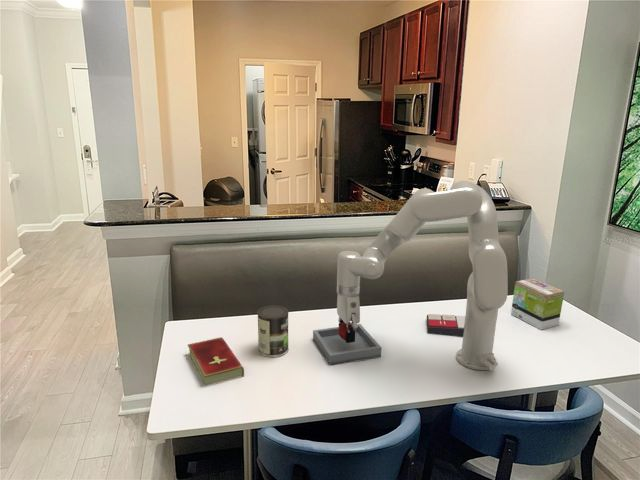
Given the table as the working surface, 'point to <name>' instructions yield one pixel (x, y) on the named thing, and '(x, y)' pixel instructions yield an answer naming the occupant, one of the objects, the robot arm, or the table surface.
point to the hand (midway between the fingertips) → (346, 337)
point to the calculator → (445, 324)
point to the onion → (343, 330)
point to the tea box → (537, 303)
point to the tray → (346, 346)
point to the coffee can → (273, 331)
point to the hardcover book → (215, 361)
